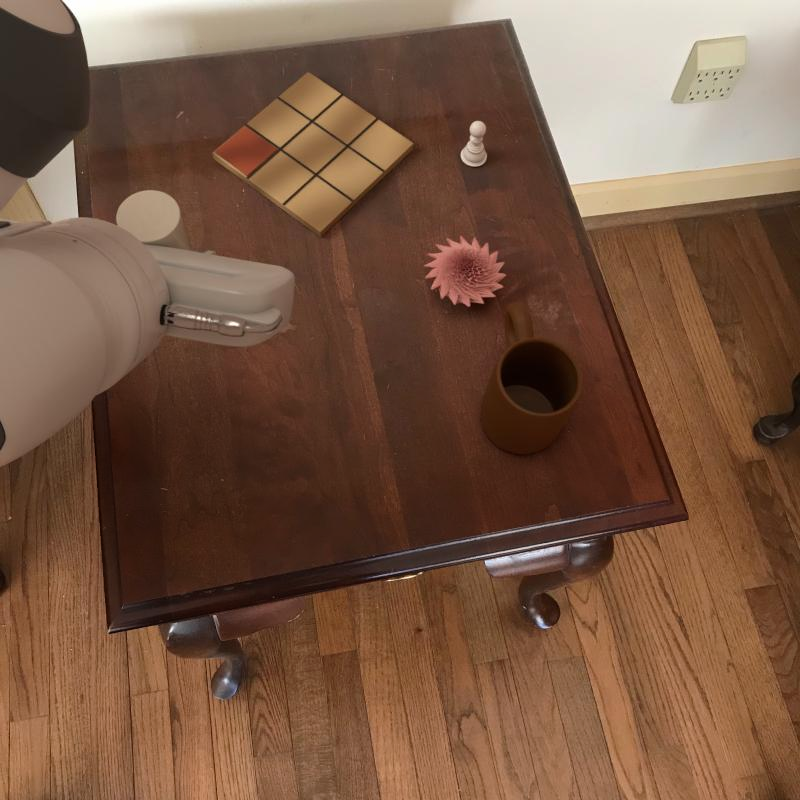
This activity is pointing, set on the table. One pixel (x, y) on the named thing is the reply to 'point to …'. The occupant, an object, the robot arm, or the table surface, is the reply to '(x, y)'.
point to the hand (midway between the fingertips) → (167, 254)
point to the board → (313, 153)
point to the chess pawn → (475, 146)
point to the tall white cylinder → (154, 219)
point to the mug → (529, 388)
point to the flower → (465, 272)
